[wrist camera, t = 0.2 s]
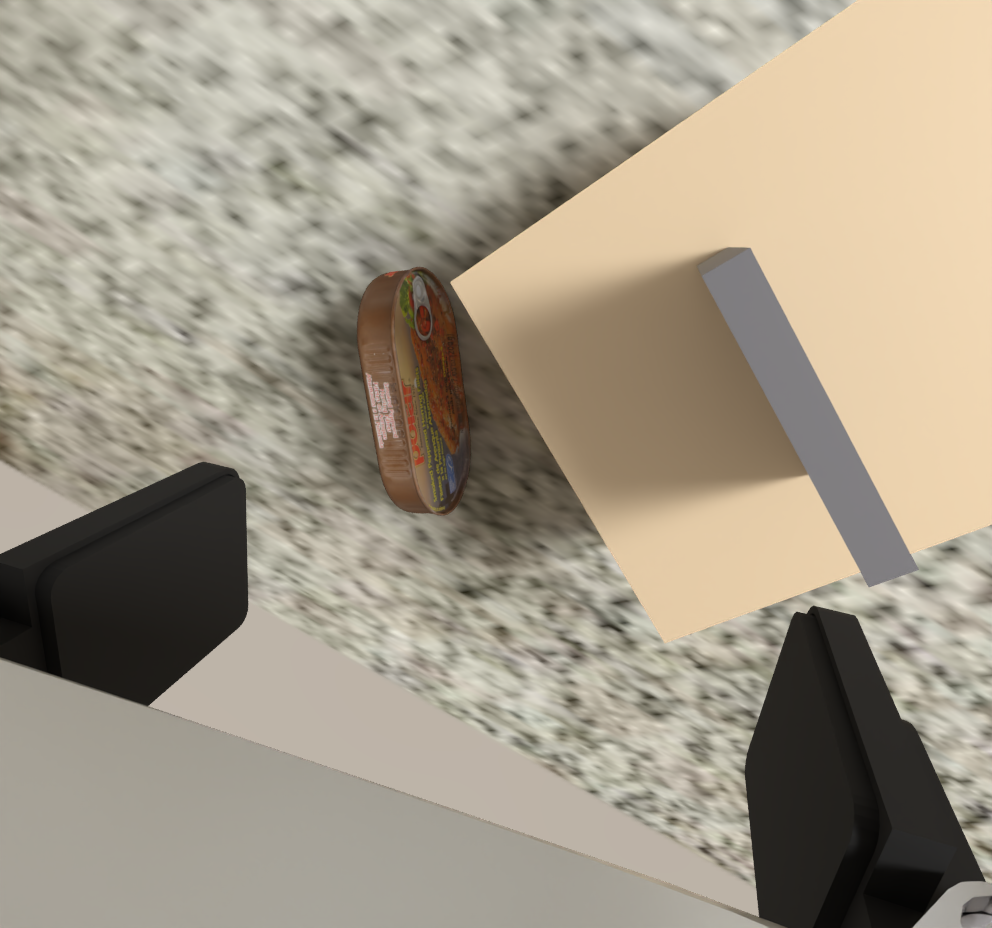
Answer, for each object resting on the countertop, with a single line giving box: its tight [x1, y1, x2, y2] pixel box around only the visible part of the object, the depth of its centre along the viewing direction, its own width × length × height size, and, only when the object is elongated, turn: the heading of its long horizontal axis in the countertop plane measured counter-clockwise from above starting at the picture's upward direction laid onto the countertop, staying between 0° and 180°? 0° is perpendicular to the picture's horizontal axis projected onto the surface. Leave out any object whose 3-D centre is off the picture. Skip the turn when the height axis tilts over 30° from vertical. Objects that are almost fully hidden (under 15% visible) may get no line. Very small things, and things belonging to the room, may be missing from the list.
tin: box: [357, 267, 471, 515], centre depth 40 cm, size 15×3×8 cm, turn 6°
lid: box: [450, 0, 992, 643], centre depth 20 cm, size 19×18×10 cm
